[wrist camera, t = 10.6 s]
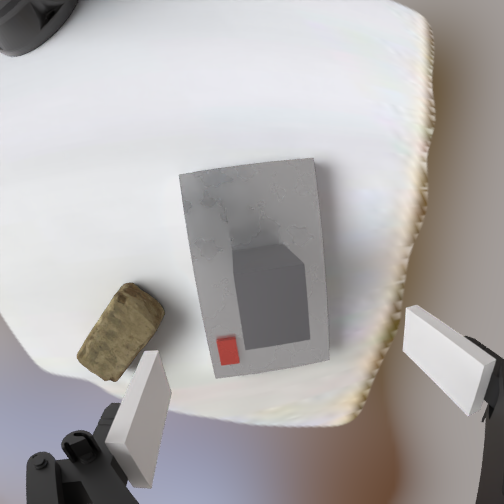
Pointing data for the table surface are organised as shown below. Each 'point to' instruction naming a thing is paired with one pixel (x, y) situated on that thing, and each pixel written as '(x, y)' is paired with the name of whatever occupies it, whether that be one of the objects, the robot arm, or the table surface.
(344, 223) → the table surface
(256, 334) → the plug
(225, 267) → the socket plate
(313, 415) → the table surface
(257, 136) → the table surface
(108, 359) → the stone block
